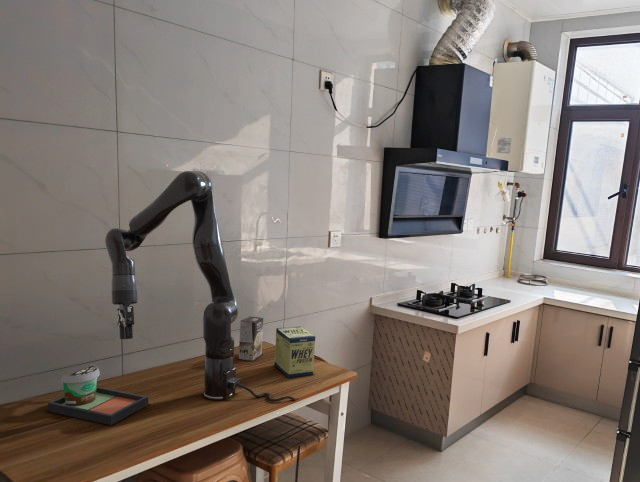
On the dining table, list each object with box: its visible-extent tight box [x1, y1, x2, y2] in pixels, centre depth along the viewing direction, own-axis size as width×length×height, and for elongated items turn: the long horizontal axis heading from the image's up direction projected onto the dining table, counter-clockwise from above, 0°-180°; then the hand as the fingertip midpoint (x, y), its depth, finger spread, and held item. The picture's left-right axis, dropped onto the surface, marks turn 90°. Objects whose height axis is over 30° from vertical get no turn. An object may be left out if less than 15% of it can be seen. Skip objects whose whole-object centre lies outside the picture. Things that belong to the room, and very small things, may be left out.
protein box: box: [273, 326, 316, 379], centre depth 215 cm, size 10×16×16 cm
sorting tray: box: [47, 386, 149, 426], centre depth 169 cm, size 22×16×3 cm
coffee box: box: [238, 315, 264, 362], centre depth 225 cm, size 9×6×16 cm
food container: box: [60, 363, 101, 406], centre depth 169 cm, size 12×6×10 cm, turn 168°
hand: (126, 339), depth 179 cm, fingers open, 8 cm apart
